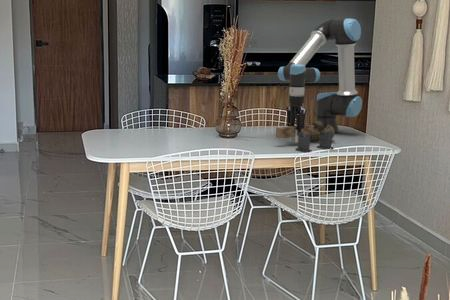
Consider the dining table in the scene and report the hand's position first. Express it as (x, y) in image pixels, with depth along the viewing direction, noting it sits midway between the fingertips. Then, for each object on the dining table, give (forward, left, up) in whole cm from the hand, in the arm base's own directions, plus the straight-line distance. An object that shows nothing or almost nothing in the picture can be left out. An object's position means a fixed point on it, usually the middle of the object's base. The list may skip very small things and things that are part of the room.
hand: (294, 141), depth 303 cm
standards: (0, +15, -2) cm, 15 cm away
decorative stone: (-19, -1, -2) cm, 19 cm away
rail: (0, 0, +3) cm, 3 cm away
